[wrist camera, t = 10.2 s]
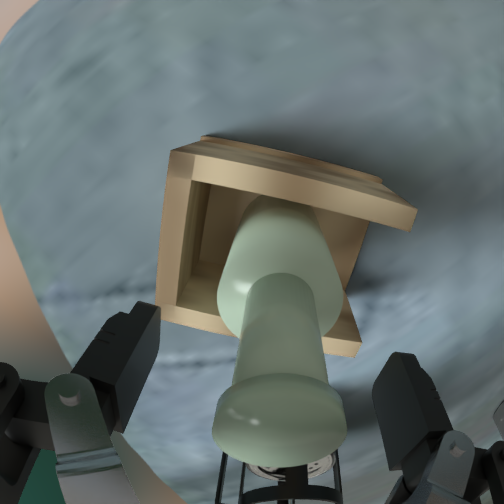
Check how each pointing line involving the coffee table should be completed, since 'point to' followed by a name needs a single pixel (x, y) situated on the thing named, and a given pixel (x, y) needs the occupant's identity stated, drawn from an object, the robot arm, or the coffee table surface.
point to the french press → (287, 482)
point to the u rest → (231, 210)
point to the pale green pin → (279, 339)
